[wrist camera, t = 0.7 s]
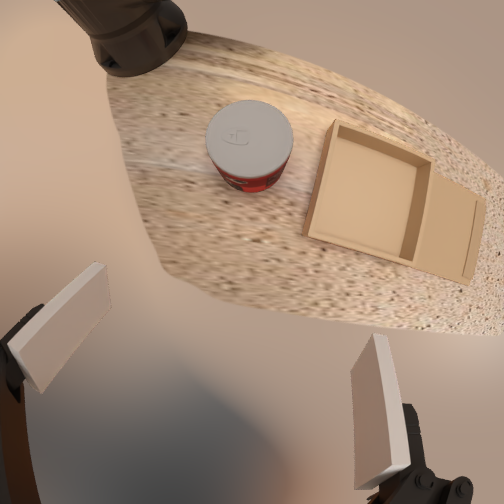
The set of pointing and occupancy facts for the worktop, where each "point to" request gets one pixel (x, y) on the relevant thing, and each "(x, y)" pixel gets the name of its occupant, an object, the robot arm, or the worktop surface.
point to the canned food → (249, 144)
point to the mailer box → (393, 205)
